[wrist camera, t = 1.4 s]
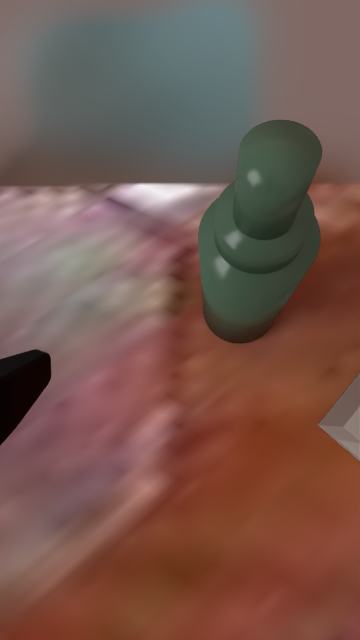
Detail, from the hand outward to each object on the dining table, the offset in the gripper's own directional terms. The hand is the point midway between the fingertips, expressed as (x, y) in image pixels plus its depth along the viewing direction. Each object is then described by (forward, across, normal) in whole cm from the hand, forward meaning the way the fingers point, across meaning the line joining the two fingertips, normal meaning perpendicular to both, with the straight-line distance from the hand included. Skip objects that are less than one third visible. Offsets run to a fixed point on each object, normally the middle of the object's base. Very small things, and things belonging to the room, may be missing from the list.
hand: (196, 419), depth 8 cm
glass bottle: (+15, 0, +4) cm, 16 cm away
